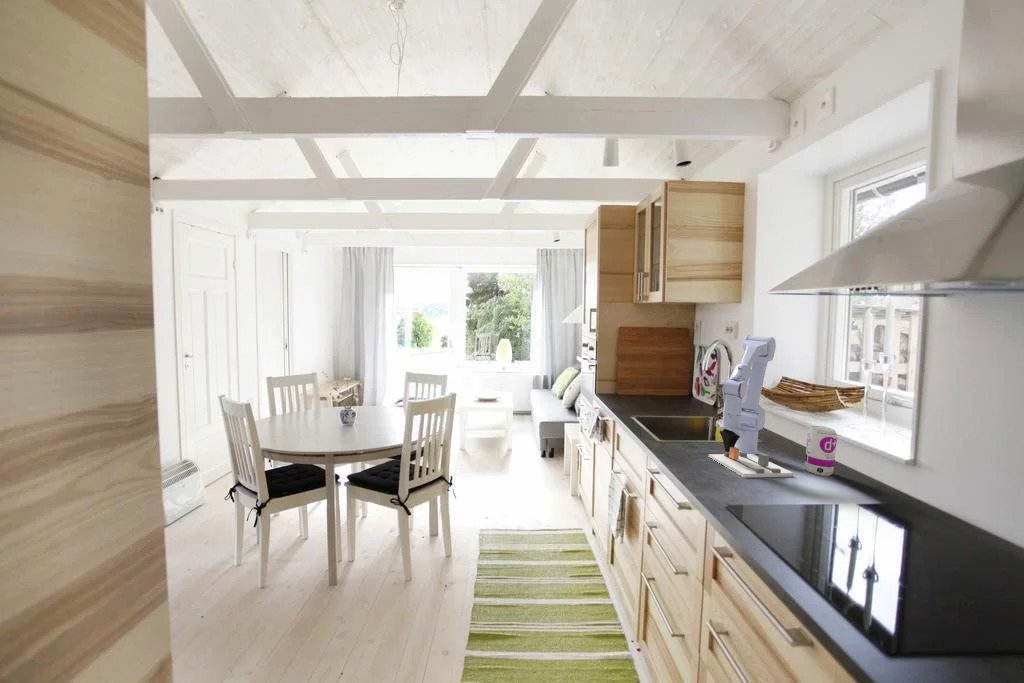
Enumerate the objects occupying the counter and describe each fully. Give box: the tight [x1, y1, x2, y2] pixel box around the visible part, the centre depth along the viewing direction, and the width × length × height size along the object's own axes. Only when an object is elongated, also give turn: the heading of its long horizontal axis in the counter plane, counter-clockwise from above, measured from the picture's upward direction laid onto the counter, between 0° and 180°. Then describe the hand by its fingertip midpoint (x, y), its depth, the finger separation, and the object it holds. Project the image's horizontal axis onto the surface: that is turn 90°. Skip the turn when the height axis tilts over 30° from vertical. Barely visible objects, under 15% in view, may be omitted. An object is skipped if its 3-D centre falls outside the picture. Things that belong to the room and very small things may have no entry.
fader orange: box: [728, 447, 740, 459], centre depth 163 cm, size 2×2×4 cm
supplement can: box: [804, 425, 838, 477], centre depth 158 cm, size 8×8×15 cm
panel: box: [708, 452, 794, 478], centre depth 160 cm, size 19×18×2 cm
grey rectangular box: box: [758, 452, 770, 466], centre depth 157 cm, size 2×2×4 cm
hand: (728, 451), depth 166 cm, fingers closed
